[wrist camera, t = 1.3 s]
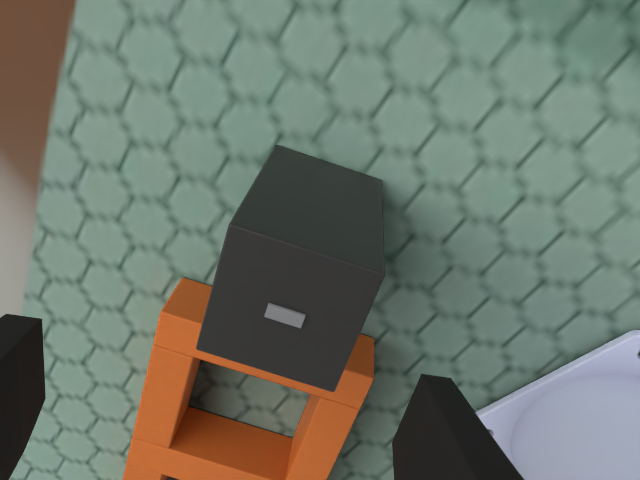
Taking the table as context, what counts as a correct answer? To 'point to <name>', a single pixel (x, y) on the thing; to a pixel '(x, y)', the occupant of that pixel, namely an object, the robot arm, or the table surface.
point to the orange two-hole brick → (225, 434)
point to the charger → (297, 270)
